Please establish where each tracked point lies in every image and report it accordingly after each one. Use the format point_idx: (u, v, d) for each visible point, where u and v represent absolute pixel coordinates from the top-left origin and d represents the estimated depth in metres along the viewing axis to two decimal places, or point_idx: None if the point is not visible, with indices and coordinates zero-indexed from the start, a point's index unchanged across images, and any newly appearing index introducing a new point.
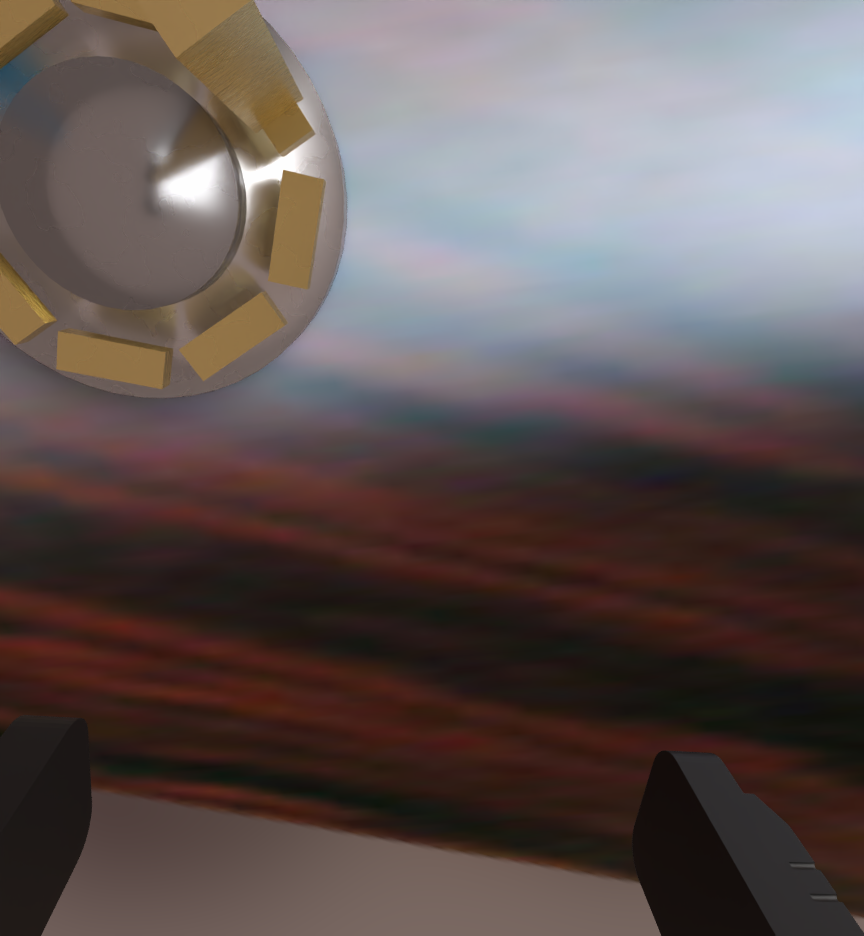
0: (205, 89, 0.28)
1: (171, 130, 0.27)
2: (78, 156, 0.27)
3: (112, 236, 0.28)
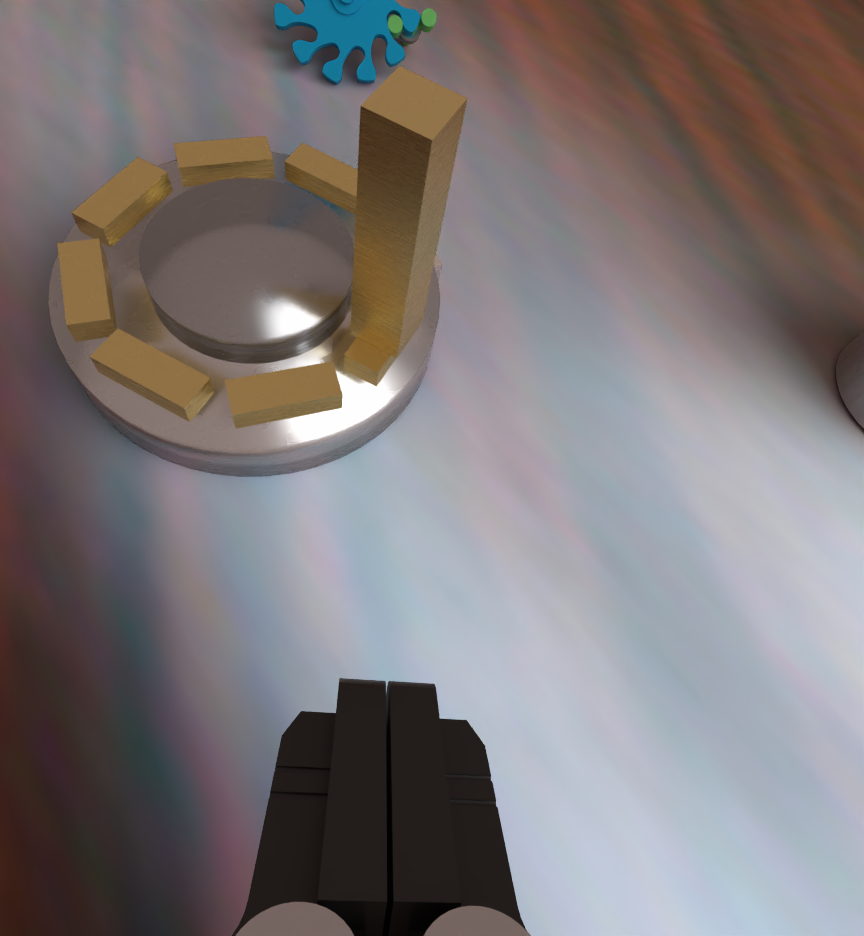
0: None
1: (318, 275, 0.31)
2: (263, 224, 0.31)
3: (208, 255, 0.30)
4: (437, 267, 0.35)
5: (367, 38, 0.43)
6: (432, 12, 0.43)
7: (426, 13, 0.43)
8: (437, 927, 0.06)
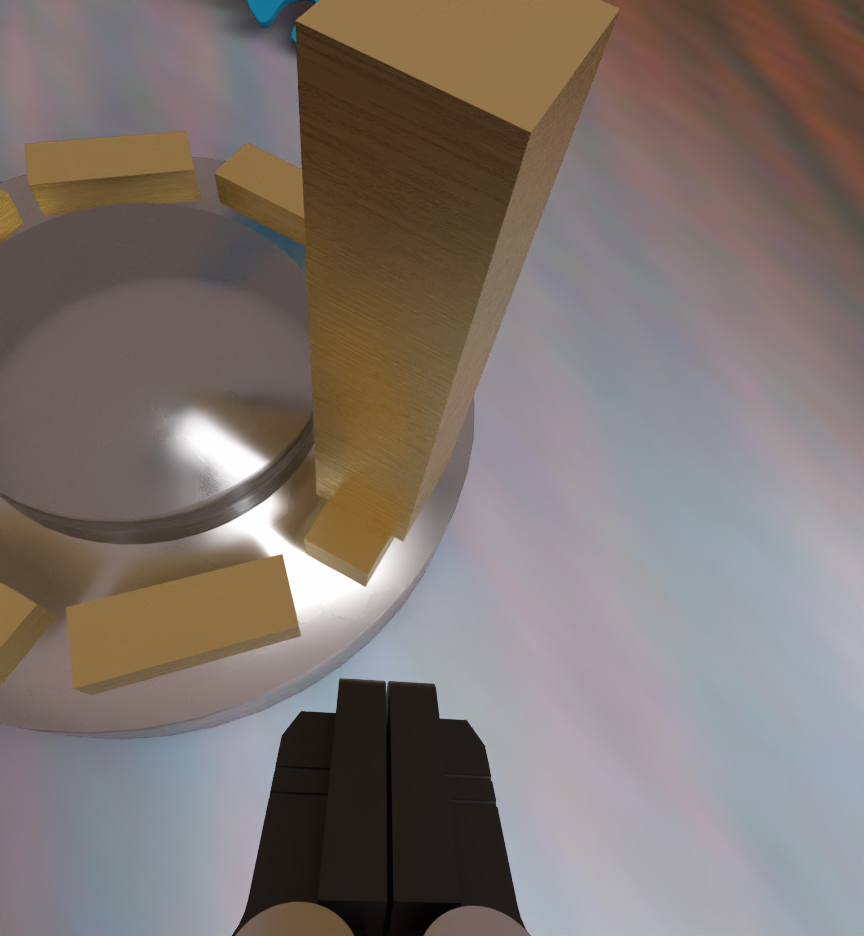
0: None
1: (260, 382, 0.17)
2: (167, 286, 0.18)
3: (58, 348, 0.17)
4: None
5: None
6: None
7: None
8: (437, 927, 0.06)
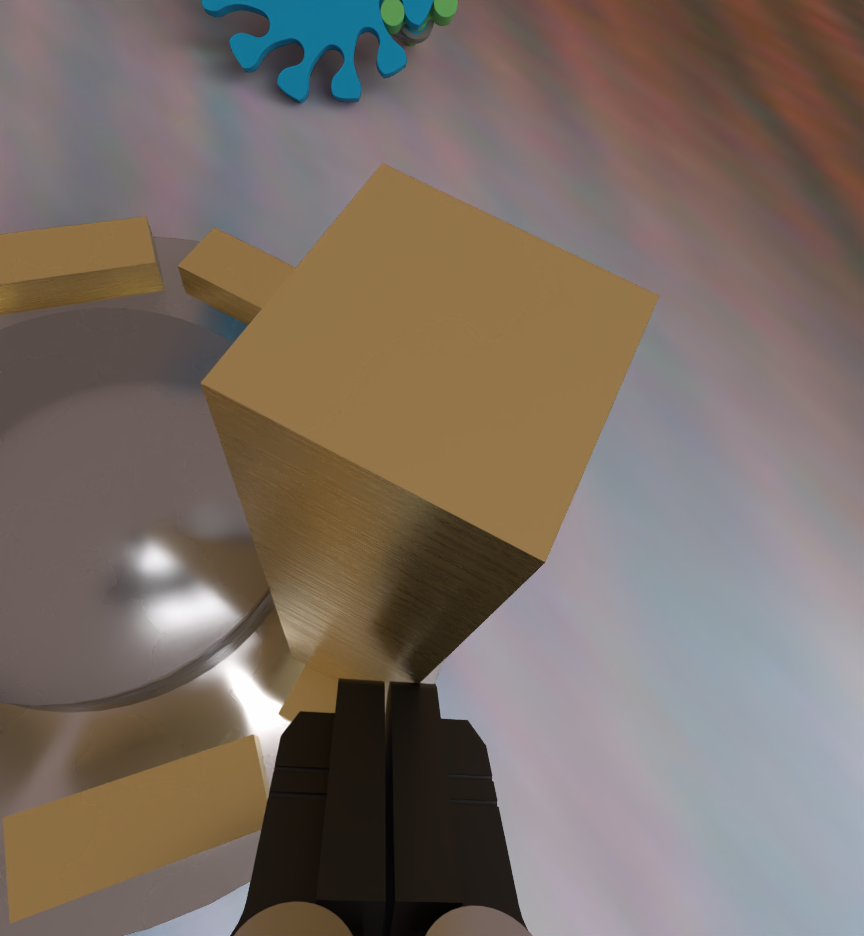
0: None
1: (226, 526, 0.15)
2: (124, 410, 0.16)
3: None
4: None
5: (348, 33, 0.28)
6: None
7: None
8: (439, 927, 0.06)
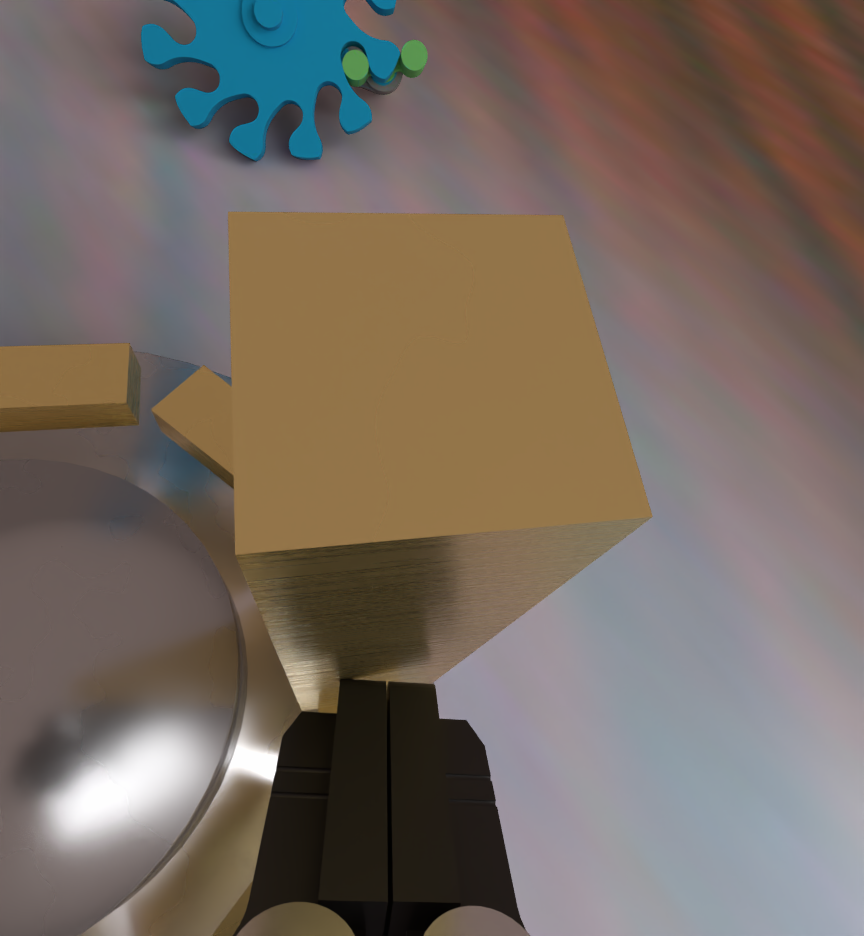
0: (265, 744, 0.15)
1: (140, 742, 0.13)
2: (22, 592, 0.13)
3: None
4: None
5: (306, 88, 0.25)
6: (420, 47, 0.25)
7: (410, 48, 0.25)
8: (436, 927, 0.06)
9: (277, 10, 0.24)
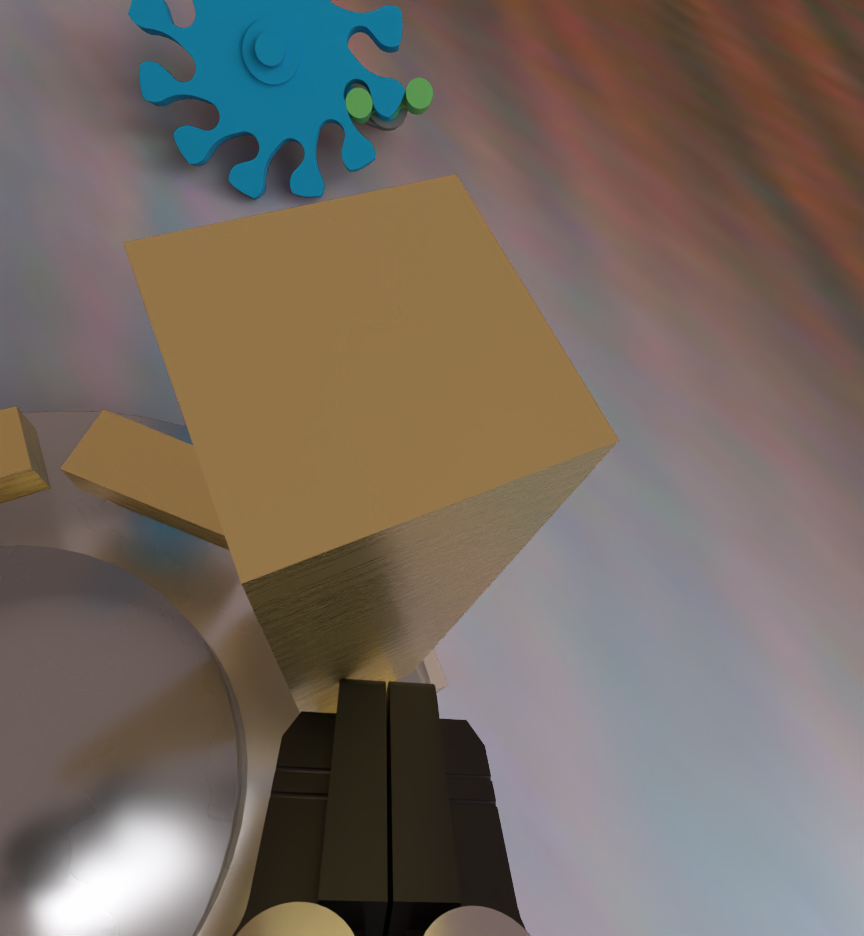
0: None
1: (132, 862, 0.12)
2: (8, 695, 0.13)
3: None
4: (438, 689, 0.16)
5: (308, 126, 0.24)
6: (426, 84, 0.24)
7: (415, 86, 0.24)
8: (437, 927, 0.06)
9: (279, 48, 0.23)
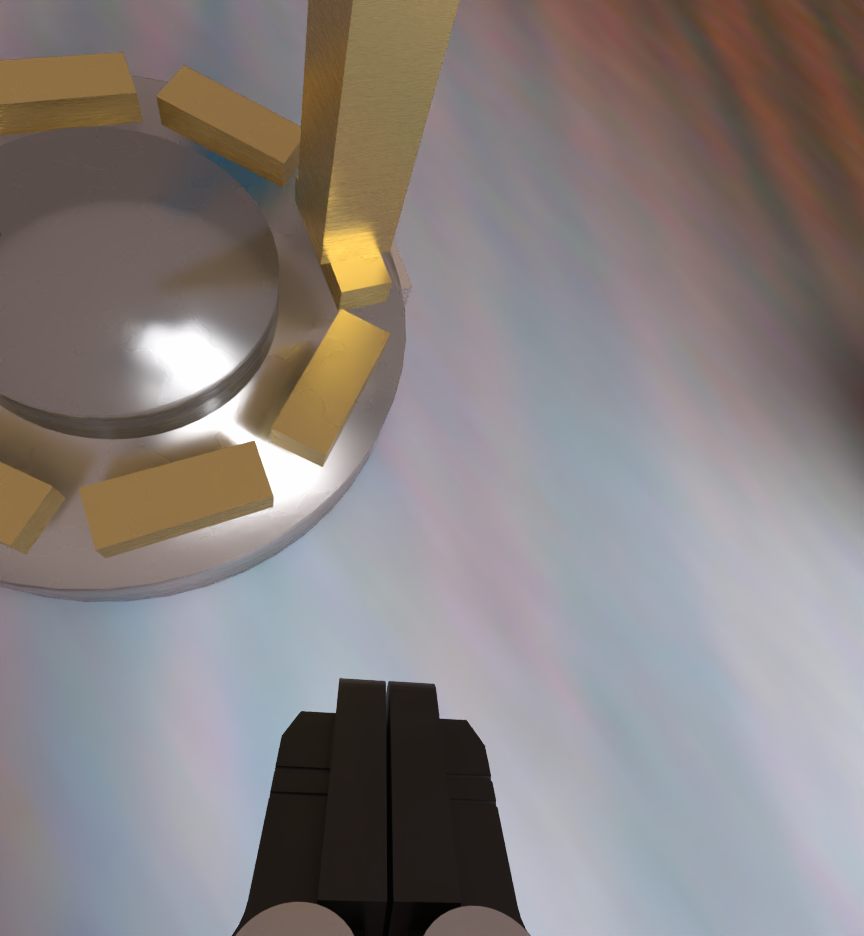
0: (290, 349, 0.22)
1: (216, 306, 0.20)
2: (135, 210, 0.20)
3: (35, 261, 0.19)
4: (405, 289, 0.24)
5: None
6: None
7: None
8: (437, 927, 0.06)
9: None
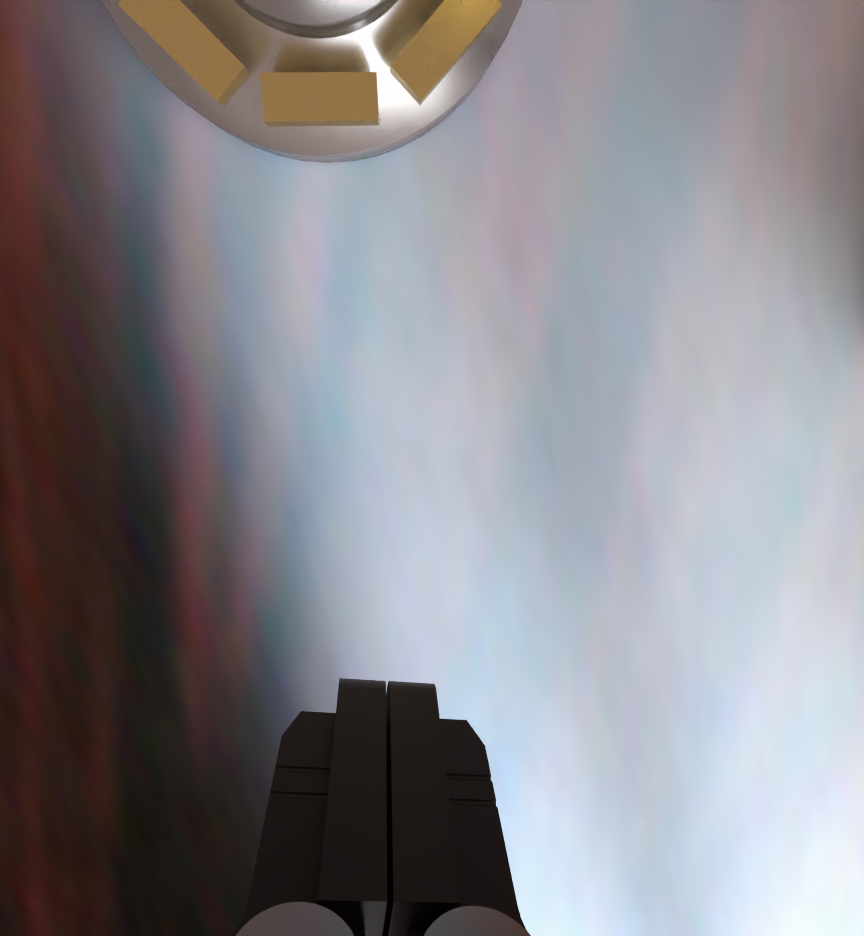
0: None
1: None
2: None
3: None
4: None
5: None
6: None
7: None
8: (437, 927, 0.06)
9: None
